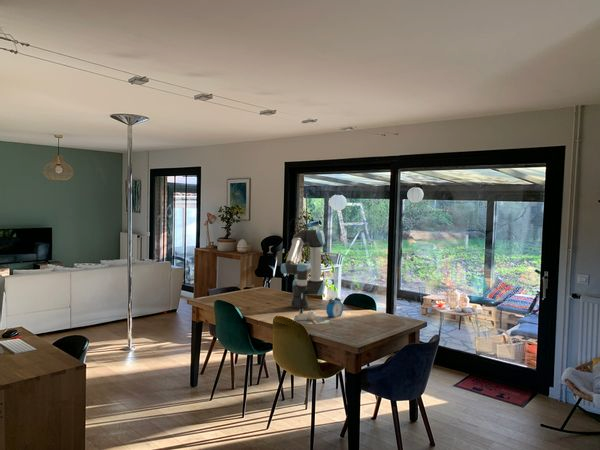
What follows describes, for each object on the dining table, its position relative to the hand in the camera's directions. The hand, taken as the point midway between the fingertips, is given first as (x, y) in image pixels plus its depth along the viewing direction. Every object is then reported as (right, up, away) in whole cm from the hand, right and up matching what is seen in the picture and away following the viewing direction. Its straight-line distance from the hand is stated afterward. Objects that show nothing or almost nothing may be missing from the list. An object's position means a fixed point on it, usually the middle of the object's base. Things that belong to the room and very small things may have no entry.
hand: (301, 317), depth 335 cm
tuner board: (+8, -3, -1) cm, 8 cm away
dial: (+5, -2, -5) cm, 8 cm away
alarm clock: (+25, -3, +12) cm, 28 cm away
